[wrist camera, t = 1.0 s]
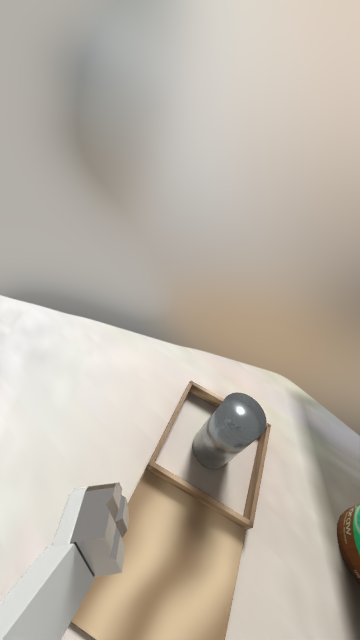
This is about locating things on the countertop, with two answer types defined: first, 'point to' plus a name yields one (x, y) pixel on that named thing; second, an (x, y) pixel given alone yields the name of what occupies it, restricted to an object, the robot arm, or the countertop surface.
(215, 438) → the slate tin
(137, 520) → the wooden tray board
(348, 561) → the food container
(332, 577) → the countertop surface
